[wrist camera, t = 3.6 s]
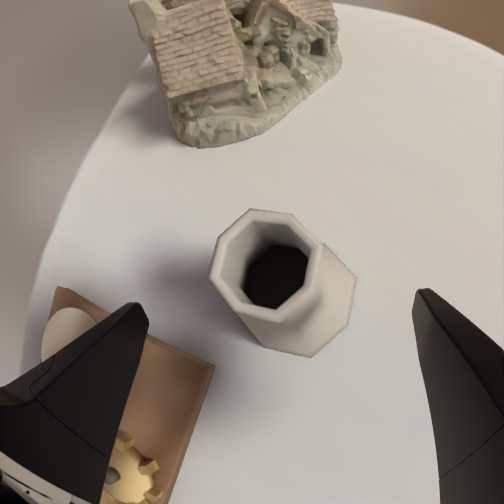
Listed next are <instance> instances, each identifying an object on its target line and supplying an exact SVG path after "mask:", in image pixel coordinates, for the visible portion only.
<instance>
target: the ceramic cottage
mask: <svg viewBox="0 0 504 504" xmlns="http://www.w3.org/2000/svg"><path fill="white" fill-rule="evenodd" d="M128 7H129V9H130V12H131V14H132V16H133V18H134V20H135V22H136V24H137V29H138V34H139V37H140V39H141V40H142V41H143V43H144V44H145V45H146V47H147V48H148V50H149V53H150V55H151V57H152V59H153V62H154V64H155V66H156V68H157V77H158V84H159V87H160V88H161V90H162V92H163V94H164V96H165V98H166V104H167V108H168V112H167V116H168V119H169V121H170V123H171V125H172V128H173V130H174V132H175V134H176V136H177V138H178V139H179V141H181V142H183V143H185V144H187V145H188V146H191V147H196V148H198V149H200V148H202V149H203V148H214V147H222V146H225V145H229V144H233V143H237V142H240V141H244V140H246V138H251V136H256V135H260V134H262V133H264V132H266V131H267V130H269V129H270V128H271V127H272V126H273V125H275V124H276V123H277V122H278V121H279V120H280V119H281V118H283V117H284V115H285V116H286V114H287V113H289V112H290V110H292V109H294V108H295V107H296V106H297V105H298V104H299V103H301V101H302V100H305V99H306V98H307V97H308V95H310V93H313V92H314V91H315V90H317V89H318V88H319V87H321V86H322V85H323V84H324V83H325V82H327V81H328V80H329V79H331V78H332V77H334V76H335V75H336V74H337V73H338V72H339V70H340V69H341V67H342V57H341V52H340V51H339V49H338V45H337V44H336V42H337V36H338V35H337V32H338V30H339V29H340V28H339V27H338V22H337V21H338V18H337V17H336V16H335V15H334V12H335V10H334V9H333V4H332V1H331V0H162V2H161V3H160V2H159V1H158V0H130V1H129V3H128Z"/></svg>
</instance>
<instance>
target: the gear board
mask: <svg viewBox="0 0 504 504" xmlns="http://www.w3.org/2000/svg"><path fill="white" fill-rule="evenodd" d="M109 315H111V314H110V313H108V312H106V311H105V310H103V309H101V308H99V307H98V306H96V305H94V304H93V303H91V302H89V301H88V300H86V299H85V298H83V297H81V296H80V295H78V294H77V293H75V292H73V291H72V290H70V289H68V288H63V287H59V286H57V289H56V292H55V296H54V300H53V304H52V308H51V312H50V316H49V321H48V323H47V325H46V328H45V330H44V334H43V338H42V344H41V363H42V362H43V361H45V360H46V359H48V358H49V357H51V356H52V355H53V354H56V352H58V351H59V350H60V349H62V348H63V347H65V346H66V345H67V344H69V343H70V342H72V341H73V340H75V339H76V338H77V337H79V336H80V335H82V334H83V333H85V332H86V331H87V330H89V329H90V328H92V327H93V326H95V325H96V324H98V323H99V322H100V321H102V320H103V319H105V318H106V317H108V316H109ZM214 368H215V366H214V365H212V364H210V363H208V362H205V361H203V360H201V359H198V358H196V357H194V356H192V355H190V354H187V353H185V352H183V351H181V350H179V349H177V348H175V347H173V346H170V345H168V344H166V343H164V342H162V341H160V340H158V339H156V338H154V337H152V336H150V335H148V334H147V335H146V339H145V344H144V348H143V352H142V356H141V360H140V363H139V367H138V370H137V373H136V376H135V379H134V382H133V385H132V388H131V391H130V394H129V397H128V400H127V403H126V407H125V410H124V413H123V416H122V420H121V423H120V426H119V430H118V433H117V437H116V440H115V444H114V448H113V451H112V455H111V459H110V463H109V467H108V471H107V475H106V479H105V483H104V487H103V491H102V496H101V500H100V504H168V502H169V499H170V496H171V493H172V490H173V488H174V485H175V482H176V479H177V476H178V473H179V470H180V467H181V464H182V462H183V459H184V456H185V453H186V450H187V447H188V444H189V441H190V438H191V435H192V432H193V430H194V427H195V424H196V421H197V418H198V415H199V412H200V409H201V406H202V403H203V400H204V398H205V395H206V392H207V389H208V386H209V383H210V380H211V377H212V374H213V371H214ZM71 502H73V503H75V504H91V503H89V502H86V501H84V500H82V499H80V498H78V497H76V496H72V499H71Z"/></svg>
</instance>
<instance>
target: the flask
mask: <svg viewBox="0 0 504 504" xmlns="http://www.w3.org/2000/svg"><path fill="white" fill-rule="evenodd" d="M207 279H208V280H209V282H210V283H211V284H212V285H213V287H214V288H215V289H216V291H217V292H218V293H219V294H220V296H221V297H222V298H223V299H224V301H225V302H226V303H227V304H228V306H229V307H230V308H231V309H232V311H233V312H234V313H236V314H237V315H238V316H239V317H240V319H241V320H242V321H243V322H244V324H245V325H246V326H247V327H248V329H249V330H250V331H251V332H252V333H253V335H254V336H255V337H256V338H257V339H258V341H259V342H260V343H261V344H262V345H263V347H264V348H268V349H273V350H277V351H281V352H286V353H290V354H295V355H300V356H304V357H309V358H311V357H313V356H314V355H315V354H316V353H317V352H319V351H320V350H321V349H322V348H323V347H324V346H326V345H327V344H328V343H329V342H330V341H331V340H332V339H333V338H335V337H336V336H337V335H338V334H339V333H340V332H341V331H342V330H343V329H345V328H346V327H347V326H348V323H349V318H350V313H351V308H352V303H353V297H354V292H355V286H356V280H357V277H356V276H355V275H354V274H353V273H352V272H351V271H350V270H349V269H348V268H347V267H346V266H345V265H344V264H343V262H342V261H341V260H340V259H339V258H338V257H337V256H336V255H335V254H334V253H333V252H332V251H331V250H330V249H329V248H328V247H327V246H326V245H325V244H322V243H320V242H319V241H318V240H317V239H316V238H315V237H314V236H313V235H312V234H311V233H310V232H309V231H308V230H307V229H306V228H305V227H304V226H303V225H302V224H301V223H300V222H299V221H298V220H297V219H296V218H295V217H294V216H293V215H292V214H287V213H280V212H273V211H266V210H258V209H251V208H250V209H249V210H248V211H246V212H245V213H244V214H243V215H242V216H241V217H240V218H239V219H237V220H236V221H235V222H234V223H233V224H232V225H231V226H230V227H228V228H227V229H226V230H225V231H224V232H223V233H222V234H221V235H220V236H218V238H217V242H216V246H215V250H214V254H213V258H212V262H211V266H210V270H209V274H208V278H207Z"/></svg>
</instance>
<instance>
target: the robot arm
mask: <svg viewBox="0 0 504 504" xmlns="http://www.w3.org/2000/svg"><path fill="white" fill-rule="evenodd" d="M412 319H413V324H414V330H415V336H416V343H417V350H418V356H419V362H420V366H421V371H422V375H423V379H424V384H425V388H426V393H427V398H428V403H429V408H430V413H431V419H432V425H433V431H434V438H435V445H436V453H437V462H438V472H439V487H440V504H504V350H503V349H502V348H501V347H500V346H499V345H498V344H497V343H495V342H494V341H493V340H492V339H491V338H490V337H489V336H487V335H486V334H485V333H484V332H483V331H482V330H481V329H479V328H478V327H477V326H476V325H475V324H473V323H472V322H471V321H470V320H469V319H468V318H466V317H465V316H464V315H463V314H461V313H460V312H459V311H458V310H457V309H455V308H454V307H453V306H452V305H450V304H449V303H448V302H447V301H445V300H444V299H443V298H442V297H440V296H439V295H438V294H437V293H435V292H434V291H433V290H431V289H430V288H424V289H418V290H417V291H416V294H415V299H414V304H413V309H412ZM148 327H149V320H148V318H147V316H146V314H145V312H144V310H143V308H142V306H141V304H140V303H138V302H129V303H127V304H125V305H124V306H122V307H121V308H119V309H118V310H116V311H115V312H114V313H112V314H111V315H109V316H108V317H106V318H105V319H103V320H102V321H100V322H99V323H98V324H96V325H95V326H93V327H92V328H90V329H89V330H87V331H86V332H85V333H83V334H82V335H80V336H79V337H77V338H76V339H75V340H73V341H72V342H70V343H69V344H67V345H66V346H65V347H63V348H62V349H60V350H59V351H58V352H56V354H53V355H52V356H51V357H49V358H48V359H46V360H45V361H43V362H42V363H41V364H39V365H38V366H36V367H35V368H33V369H31V370H30V371H28V372H27V373H25V374H24V375H22V376H20V377H19V378H17V379H16V380H14V381H12V382H11V383H9V384H7V385H6V386H3V387H0V504H75V503H73V502H71V499H72V496H76V497H78V498H80V499H82V500H84V501H86V502H89V503H91V504H100V500H101V496H102V491H103V487H104V483H105V479H106V475H107V471H108V467H109V463H110V459H111V455H112V451H113V448H114V444H115V440H116V437H117V433H118V430H119V426H120V423H121V420H122V416H123V413H124V410H125V407H126V403H127V400H128V397H129V394H130V391H131V388H132V385H133V382H134V379H135V376H136V373H137V370H138V367H139V363H140V360H141V356H142V352H143V348H144V344H145V339H146V335H147V331H148Z"/></svg>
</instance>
